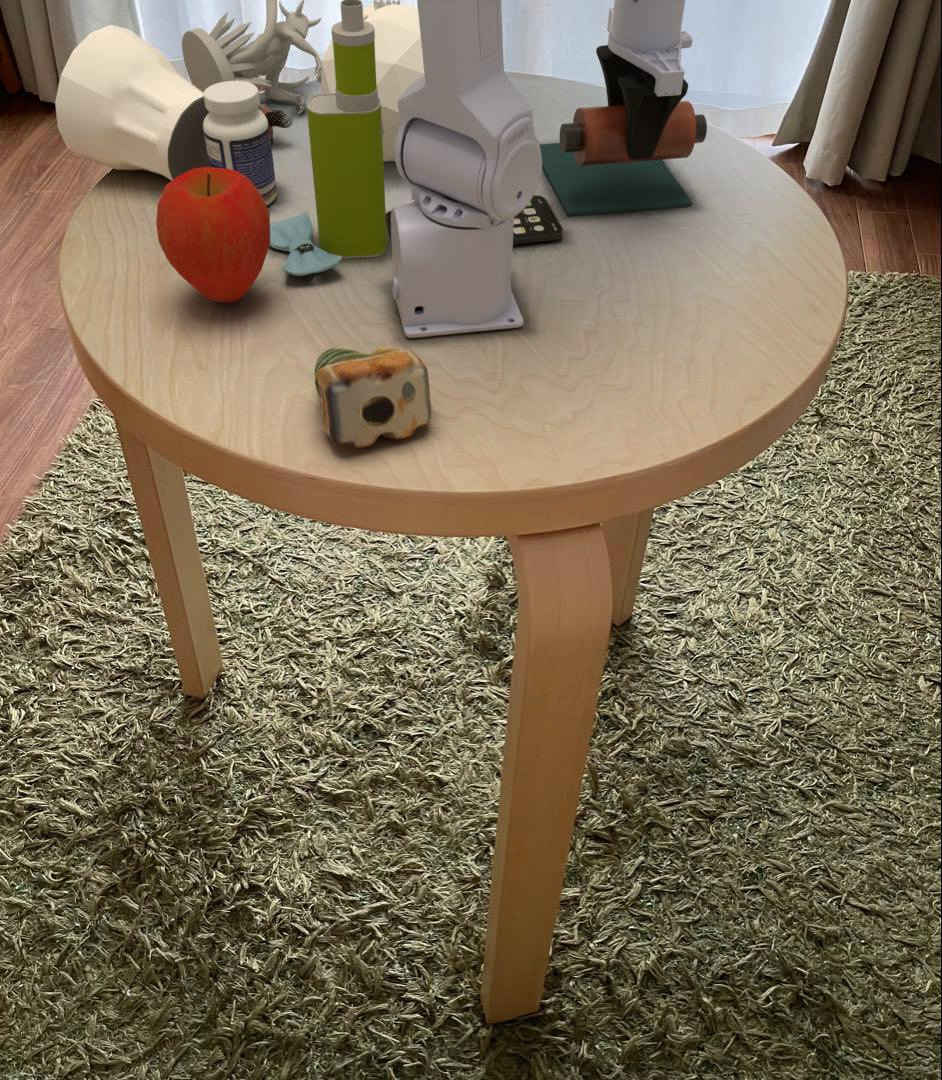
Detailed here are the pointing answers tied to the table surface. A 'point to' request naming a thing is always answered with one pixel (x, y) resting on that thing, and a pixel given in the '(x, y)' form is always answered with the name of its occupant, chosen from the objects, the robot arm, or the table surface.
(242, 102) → the pill bottle
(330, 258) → the bow tie
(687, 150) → the rolling pin
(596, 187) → the pastry mat
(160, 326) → the table surface
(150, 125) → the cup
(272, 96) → the demon figurine
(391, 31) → the geodesic sphere
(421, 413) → the ornament
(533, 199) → the smartphone
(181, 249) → the apple
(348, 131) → the vape
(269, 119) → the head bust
